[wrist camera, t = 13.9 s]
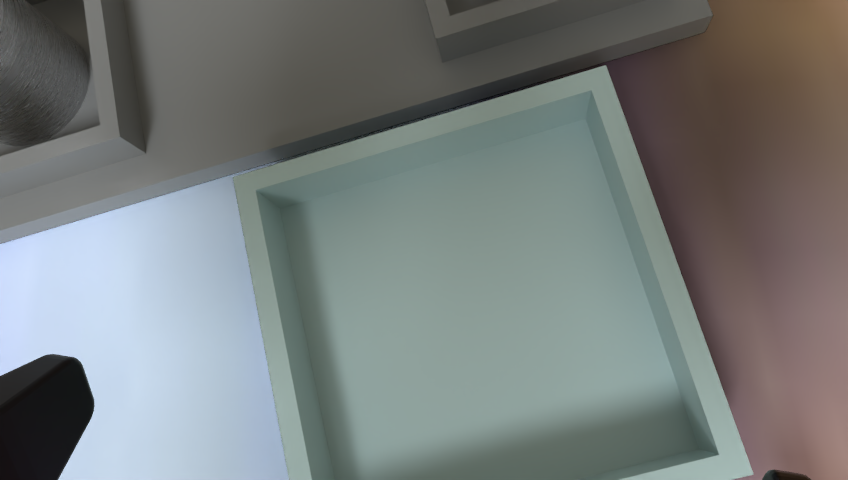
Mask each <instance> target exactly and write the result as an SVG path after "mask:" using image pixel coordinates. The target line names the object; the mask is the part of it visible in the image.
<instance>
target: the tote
mask: <svg viewBox="0 0 848 480" xmlns="http://www.w3.org/2000/svg"><path fill="white" fill-rule="evenodd" d="M233 181H234V187H235V192H236V197H237V203H238V208H239V213H240V219H241V224H242V229H243V235H244V240H245V246H246V251H247V256H248V262H249V267H250V272H251V278H252V283H253V289H254V294H255V299H256V305H257V310H258V315H259V321H260V326H261V331H262V337H263V342H264V348H265V353H266V358H267V364H268V369H269V374H270V380H271V385H272V391H273V396H274V401H275V407H276V412H277V417H278V423H279V428H280V433H281V439H282V444H283V450H284V455H285V460H286V466H287V471H288V476H289V480H733V479H737V478H741V477H745V476H749V475H753V471H752V469H751V466H750V463H749V460H748V457H747V455H746V452H745V449H744V446H743V444H742V441H741V438H740V435H739V432H738V430H737V427H736V424H735V421H734V419H733V416H732V413H731V410H730V408H729V405H728V402H727V399H726V396H725V394H724V391H723V388H722V385H721V383H720V380H719V377H718V374H717V371H716V369H715V366H714V363H713V360H712V358H711V355H710V352H709V349H708V347H707V344H706V341H705V338H704V335H703V333H702V330H701V327H700V324H699V322H698V319H697V316H696V313H695V310H694V308H693V305H692V302H691V299H690V297H689V294H688V291H687V288H686V286H685V283H684V280H683V277H682V274H681V272H680V269H679V266H678V263H677V261H676V258H675V255H674V252H673V250H672V247H671V244H670V241H669V238H668V236H667V233H666V230H665V227H664V225H663V222H662V219H661V216H660V213H659V211H658V208H657V205H656V202H655V200H654V197H653V194H652V191H651V189H650V186H649V183H648V180H647V177H646V175H645V172H644V169H643V166H642V164H641V161H640V158H639V155H638V152H637V150H636V147H635V144H634V141H633V139H632V136H631V133H630V130H629V128H628V125H627V122H626V119H625V116H624V114H623V111H622V108H621V105H620V103H619V100H618V97H617V94H616V91H615V89H614V86H613V83H612V80H611V78H610V75H609V72H608V69H607V67H606V65H604V66H601V67H598V68H594V69H591V70H588V71H584V72H581V73H578V74H574V75H571V76H568V77H564V78H561V79H558V80H554V81H551V82H548V83H544V84H541V85H538V86H534V87H531V88H528V89H524V90H521V91H518V92H514V93H511V94H508V95H504V96H501V97H498V98H494V99H491V100H488V101H484V102H481V103H478V104H474V105H471V106H468V107H464V108H461V109H458V110H454V111H451V112H448V113H444V114H441V115H438V116H434V117H431V118H428V119H424V120H421V121H418V122H414V123H411V124H408V125H404V126H401V127H398V128H394V129H391V130H388V131H384V132H381V133H378V134H374V135H371V136H368V137H364V138H361V139H358V140H354V141H351V142H348V143H344V144H341V145H338V146H334V147H331V148H328V149H324V150H321V151H318V152H314V153H311V154H308V155H304V156H301V157H298V158H294V159H291V160H288V161H285V162H281V163H278V164H275V165H271V166H268V167H265V168H261V169H258V170H255V171H251V172H248V173H245V174H241V175H238V176H235V177H233Z"/></svg>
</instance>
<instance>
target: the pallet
mask: <svg viewBox="0 0 848 480" xmlns="http://www.w3.org/2000/svg"><path fill="white" fill-rule="evenodd" d="M25 1H27V2H28V3H29V4H30V5H32V6H33V7H34V8H36V9H37V10H38V11H39V12H41V13H42V14H43V15H44V16H46V17H47V18H48V19H49V20H51V21H52V22H53V23H54V24H56V25H57V26H58V27H59V28H61V29H62V30H63V31H64V32H66V33H67V34H68V35H69V36H71V37H72V38H73V39H74V40H75V41H76V42H78V44H79V45H80V46H81V47H82V49H83V51H84V53H85V55H86V58H87V60H88V65H89V74H90V75H89V85H88V90H87V93H86V96H85V99H84V101H83V103H82V106H81V107H80V109H79V111H78V112H77V114H76V115H75V116H74V118H73V119H72V120H71V121H70V122H69V123H68V124H67V125H66V126H65V127H64V128H63V129H62V130H61V131H59V132H58V133H57V134H55V135H54V136H52V137H50V138H48V139H46V140H44V141H42V142H39V143H36V144H32V145H27V146H11V145H6V144H3V143H0V244H1V243H5V242H8V241H11V240H15V239H18V238H21V237H25V236H28V235H31V234H35V233H38V232H41V231H45V230H48V229H51V228H55V227H58V226H61V225H65V224H68V223H71V222H75V221H78V220H81V219H85V218H88V217H91V216H95V215H98V214H101V213H105V212H108V211H111V210H115V209H118V208H121V207H125V206H128V205H131V204H135V203H138V202H141V201H145V200H148V199H151V198H155V197H158V196H161V195H165V194H168V193H171V192H175V191H178V190H181V189H185V188H188V187H191V186H195V185H198V184H201V183H205V182H208V181H211V180H215V179H218V178H221V177H224V176H228V175H231V174H234V173H238V172H241V171H244V170H248V169H251V168H254V167H258V166H261V165H264V164H268V163H271V162H274V161H278V160H281V159H284V158H288V157H291V156H294V155H298V154H301V153H304V152H308V151H311V150H314V149H318V148H321V147H324V146H328V145H331V144H334V143H338V142H341V141H344V140H348V139H351V138H354V137H358V136H361V135H364V134H368V133H371V132H374V131H378V130H381V129H384V128H388V127H391V126H394V125H398V124H401V123H404V122H408V121H411V120H414V119H418V118H421V117H424V116H428V115H431V114H434V113H437V112H441V111H444V110H447V109H451V108H454V107H457V106H461V105H464V104H467V103H471V102H474V101H477V100H481V99H484V98H487V97H491V96H494V95H497V94H501V93H504V92H507V91H511V90H514V89H517V88H521V87H524V86H527V85H531V84H534V83H537V82H541V81H544V80H547V79H551V78H554V77H557V76H561V75H564V74H567V73H571V72H574V71H577V70H581V69H584V68H587V67H591V66H594V65H597V64H601V63H604V62H607V61H611V60H614V59H617V58H621V57H624V56H627V55H631V54H634V53H637V52H641V51H644V50H647V49H650V48H654V47H657V46H660V45H664V44H667V43H670V42H674V41H677V40H680V39H684V38H687V37H690V36H694V35H697V34H700V33H704V32H705V31H706V29H707V27H708V25H709V23H710V21H711V19H712V16H713V13H712V11H711V9H710V6H709V4H708V1H707V0H25Z"/></svg>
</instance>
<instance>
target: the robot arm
mask: <svg viewBox="0 0 848 480" xmlns="http://www.w3.org/2000/svg"><path fill="white" fill-rule="evenodd" d="M93 411H94V398H93V395H92V392H91V389H90V386H89V383H88V380H87V377H86V374H85V371H84V368H83V366H82V364H81V362H80V361H79V360H78V359H76V358H74V357H68V356H62V355H55V354H50V355H45V356H43V357H41V358H38V359H36V360H34V361H32V362H30V363H28V364H25V365H23V366H21V367H19V368H17V369H15V370H13V371H10V372H8V373H6V374H4V375H2V376H0V480H58V479H59V477H60V475H61V473H62V471H63V469H64V468H65V466H66V464H67V462H68V460H69V458H70V456H71V455H72V453H73V451H74V449H75V447H76V445H77V443H78V442H79V440H80V438H81V436H82V434H83V432H84V431H85V429H86V427H87V425H88V423H89V421H90V419H91V417H92V414H93ZM762 480H811V479H810V478H808V477H807V476H805V475H803V474H798V473H792V472H786V471H780V470H770V471H768V472H767V473H766V474H765V475H764V477H763V479H762Z"/></svg>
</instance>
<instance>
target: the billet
mask: <svg viewBox="0 0 848 480" xmlns="http://www.w3.org/2000/svg"><path fill="white" fill-rule="evenodd" d="M89 75H90V74H89V65H88V60H87V58H86V55H85V53H84V51H83V49H82V47H81V46H80V45H79V44H78V42H76V41H75V40H74V39H73V38H72V37H71V36H69V35H68V34H67V33H66V32H64V31H63V30H62V29H61V28H59V27H58V26H57V25H56V24H54V23H53V22H52V21H51V20H49V19H48V18H47V17H46V16H44V15H43V14H42V13H41V12H39V11H38V10H37V9H36V8H34V7H33V6H32V5H30V4H29V3H28V2H27V1H25V0H0V143H3V144H6V145H11V146H27V145H32V144H36V143H39V142H42V141H44V140H46V139H48V138H50V137H52V136H54V135H55V134H57V133H58V132H59V131H61V130H62V129H63V128H64V127H65V126H66V125H67V124H68V123H69V122H70V121H71V120H72V119H73V118H74V116H75V115H76V114H77V112H78V111H79V109H80V107H81V106H82V103H83V101H84V99H85V96H86V93H87V90H88V85H89Z"/></svg>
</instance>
